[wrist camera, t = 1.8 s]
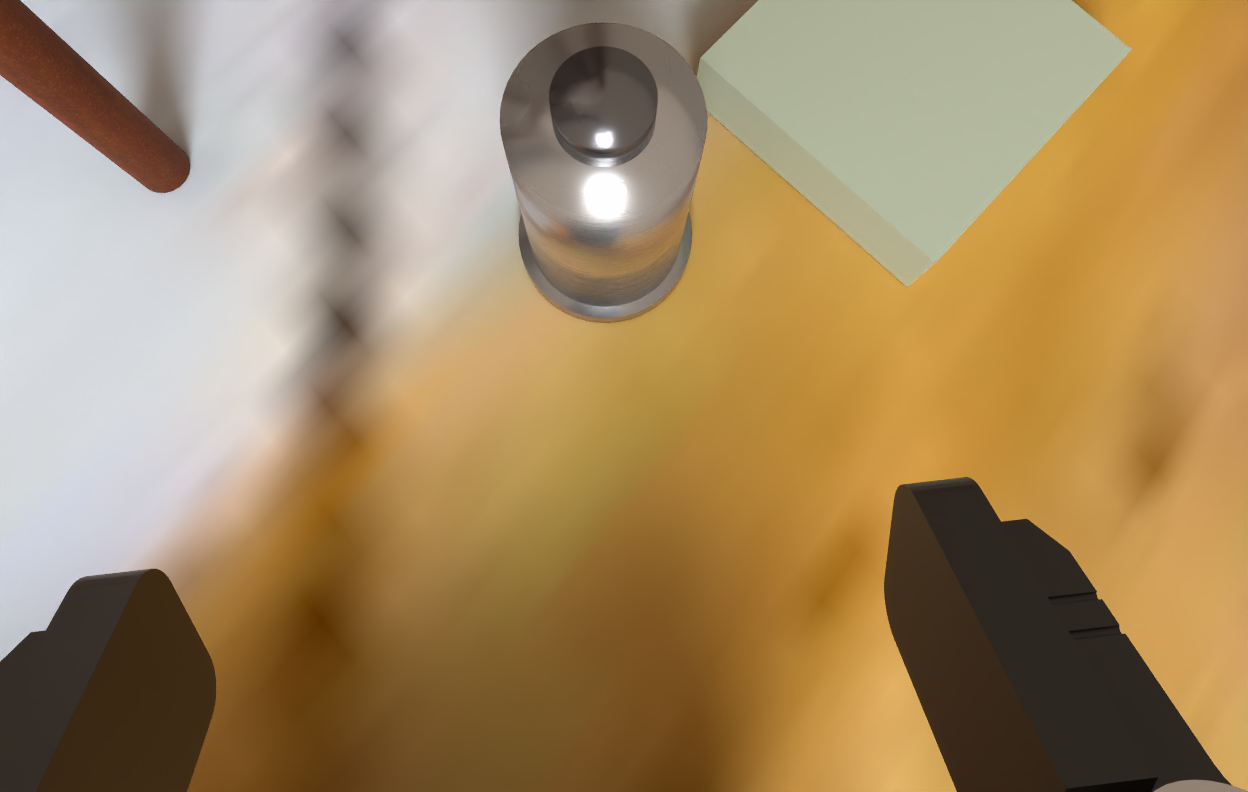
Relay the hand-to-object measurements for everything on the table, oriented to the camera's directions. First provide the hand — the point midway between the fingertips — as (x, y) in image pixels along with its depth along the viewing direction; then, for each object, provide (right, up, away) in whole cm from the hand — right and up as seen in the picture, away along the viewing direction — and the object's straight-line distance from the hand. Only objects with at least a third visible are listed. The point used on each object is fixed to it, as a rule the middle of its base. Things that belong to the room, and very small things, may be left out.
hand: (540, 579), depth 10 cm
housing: (0, +8, +24) cm, 25 cm away
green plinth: (+11, +14, +25) cm, 31 cm away
